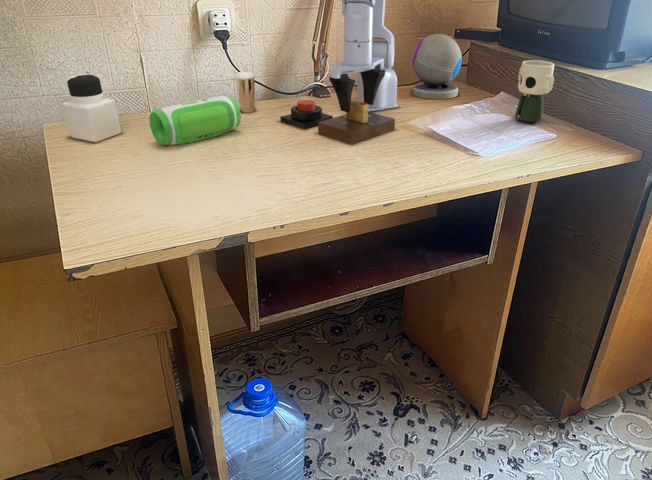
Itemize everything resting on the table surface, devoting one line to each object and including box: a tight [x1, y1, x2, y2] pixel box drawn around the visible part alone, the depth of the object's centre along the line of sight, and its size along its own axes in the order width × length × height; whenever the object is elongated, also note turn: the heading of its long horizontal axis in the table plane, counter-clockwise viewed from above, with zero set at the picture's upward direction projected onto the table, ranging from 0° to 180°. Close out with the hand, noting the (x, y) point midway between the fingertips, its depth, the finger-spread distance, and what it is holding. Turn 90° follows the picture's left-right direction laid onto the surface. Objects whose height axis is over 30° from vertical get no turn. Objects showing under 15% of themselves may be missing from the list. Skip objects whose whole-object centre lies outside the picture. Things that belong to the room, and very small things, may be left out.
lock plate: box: [317, 111, 396, 145], centre depth 119 cm, size 14×10×3 cm
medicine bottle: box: [61, 74, 122, 143], centre depth 112 cm, size 7×7×12 cm
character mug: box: [514, 59, 555, 123], centre depth 126 cm, size 11×7×13 cm, turn 26°
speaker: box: [149, 95, 242, 146], centre depth 113 cm, size 18×7×8 cm, turn 135°
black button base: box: [280, 104, 334, 130], centre depth 125 cm, size 9×8×3 cm
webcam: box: [412, 33, 463, 100], centre depth 146 cm, size 13×13×15 cm
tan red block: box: [345, 99, 368, 123], centre depth 118 cm, size 5×2×4 cm, turn 47°
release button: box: [296, 99, 316, 111], centre depth 124 cm, size 4×4×2 cm
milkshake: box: [234, 64, 256, 113], centre depth 130 cm, size 4×5×10 cm
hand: (357, 107), depth 117 cm, fingers open, 7 cm apart
